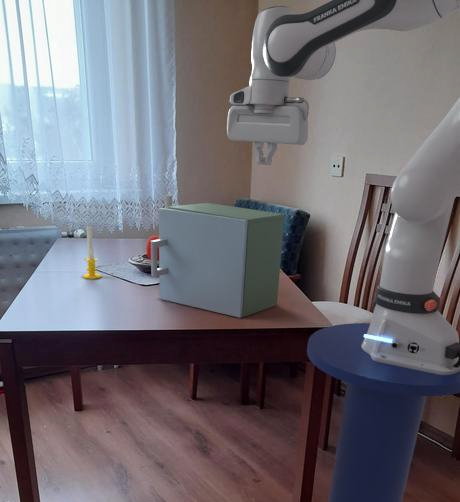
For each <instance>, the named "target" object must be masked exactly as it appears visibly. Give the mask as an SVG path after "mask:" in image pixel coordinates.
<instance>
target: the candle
mask: <svg viewBox="0 0 460 502" xmlns="http://www.w3.org/2000/svg"><path fill="white" fill-rule="evenodd" d="M86 242H87V244H86V245H87V258H84V261H86V262H87V268H86V272H88V273H85V274H83V275H82V276H83V278H84V279H87V280H88V279H89V280H98V279H100V278H101V277H102V275H101V273H100V274H99V273H96V272H97V271H98V268H97V267H96V261H98V258H97V257H95V253H94V252H95V251H94V238H93V227H92V226H91V225H86Z"/></svg>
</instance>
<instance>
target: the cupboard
mask: <svg viewBox="0 0 460 502" xmlns="http://www.w3.org/2000/svg"><path fill="white" fill-rule="evenodd" d="M168 209H172V210H179V211H186V212H193V213H200V214H207V215H215V216H222V217H229V218H236V219H243V220H248V226H247V242H246V259H245V275H244V291H243V308H242V317H241V318H245V317H248V316H250V315H253V314H256V313H258V312H261V311H264V310H267V309H270V308H272V307H276V306H277V305H278V296H279V283H280V275H281V274H280V272H281V263H282V251H283V240H284V230H285V216H286V214H285V213H279V212H273V211H266V210H259V209H253V208H252V209H251V208H245V207H239V206H232V205H225V204H218V203H213V202H212V203H211V202H202V203H191V204H180V205H172V206H169V207H168Z"/></svg>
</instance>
